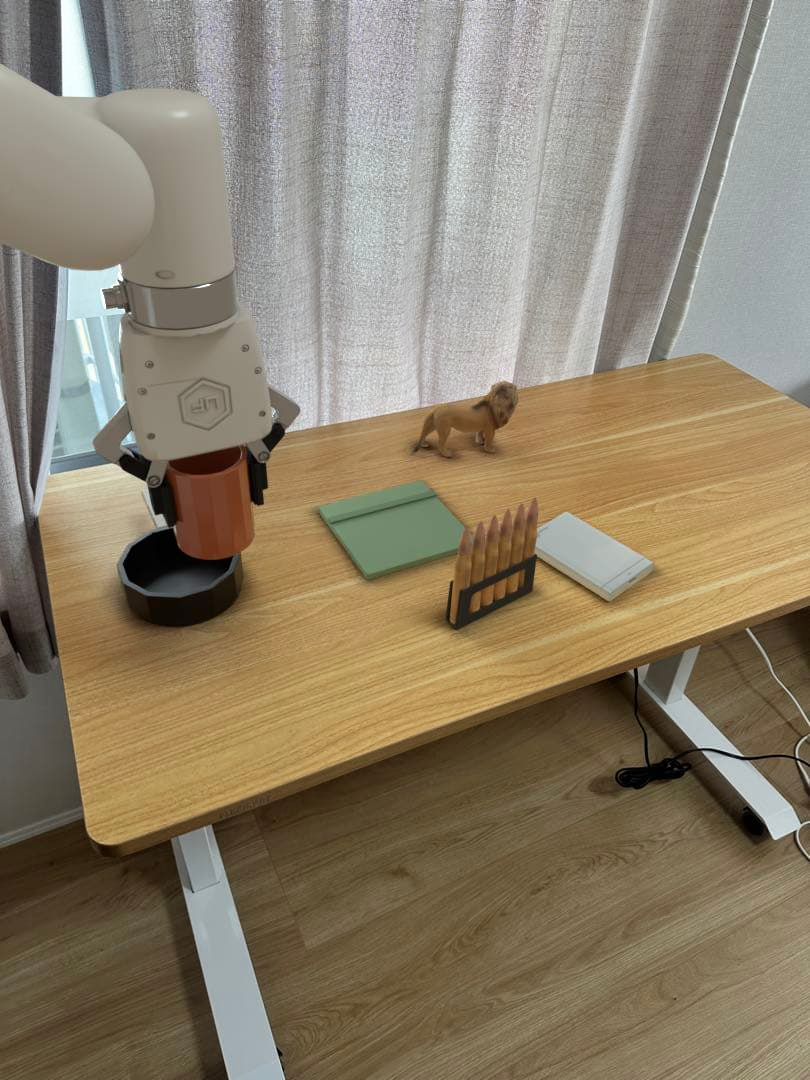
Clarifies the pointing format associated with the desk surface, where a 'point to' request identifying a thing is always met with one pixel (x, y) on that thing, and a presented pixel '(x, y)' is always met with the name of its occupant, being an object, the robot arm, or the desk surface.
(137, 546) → the pan
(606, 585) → the hard drive
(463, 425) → the lion figurine
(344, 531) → the notepad
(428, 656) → the desk surface
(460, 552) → the ammunition clip
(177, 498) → the cup
